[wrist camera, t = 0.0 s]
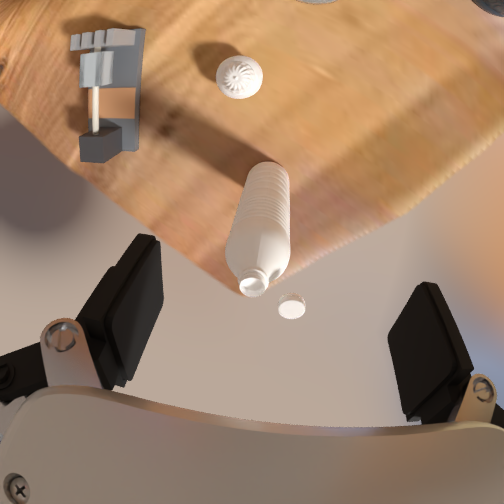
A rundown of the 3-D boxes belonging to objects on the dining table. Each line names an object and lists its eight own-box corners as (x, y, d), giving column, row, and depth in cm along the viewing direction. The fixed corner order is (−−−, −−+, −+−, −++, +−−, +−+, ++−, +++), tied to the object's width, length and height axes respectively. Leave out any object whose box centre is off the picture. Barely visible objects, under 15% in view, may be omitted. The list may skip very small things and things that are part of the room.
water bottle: (239, 185, 48) (202, 293, 27) (262, 152, 44) (239, 244, 24) (284, 213, 50) (281, 333, 29) (309, 184, 46) (325, 294, 26)
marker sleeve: (93, 53, 32) (80, 54, 29) (114, 51, 32) (101, 51, 29) (92, 84, 35) (79, 87, 32) (112, 83, 35) (99, 86, 32)
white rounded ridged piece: (273, 75, 37) (271, 77, 32) (244, 104, 40) (237, 111, 34) (241, 47, 35) (233, 44, 30) (212, 78, 38) (199, 80, 32)
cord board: (96, 34, 34) (66, 34, 27) (145, 29, 34) (120, 25, 27) (93, 146, 45) (67, 162, 39) (138, 149, 45) (115, 165, 39)
